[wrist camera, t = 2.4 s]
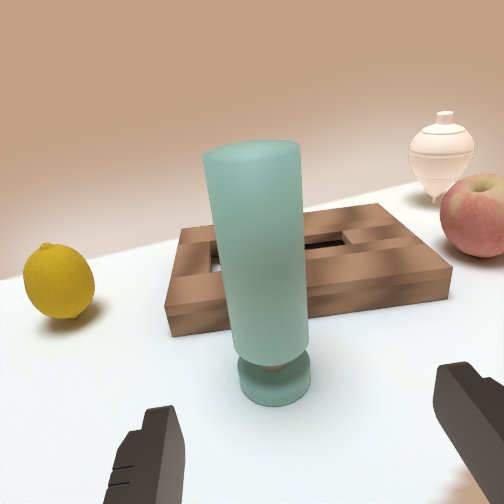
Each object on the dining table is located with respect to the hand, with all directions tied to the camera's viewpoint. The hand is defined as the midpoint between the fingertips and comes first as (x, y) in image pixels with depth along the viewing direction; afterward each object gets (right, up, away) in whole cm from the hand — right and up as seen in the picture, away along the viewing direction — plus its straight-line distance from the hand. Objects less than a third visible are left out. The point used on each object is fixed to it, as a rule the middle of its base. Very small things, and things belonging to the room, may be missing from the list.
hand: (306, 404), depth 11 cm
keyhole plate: (+3, +3, +28) cm, 28 cm away
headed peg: (0, -4, +15) cm, 16 cm away
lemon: (-19, -2, +24) cm, 31 cm away
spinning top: (+24, +11, +40) cm, 47 cm away
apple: (+22, +4, +27) cm, 35 cm away
